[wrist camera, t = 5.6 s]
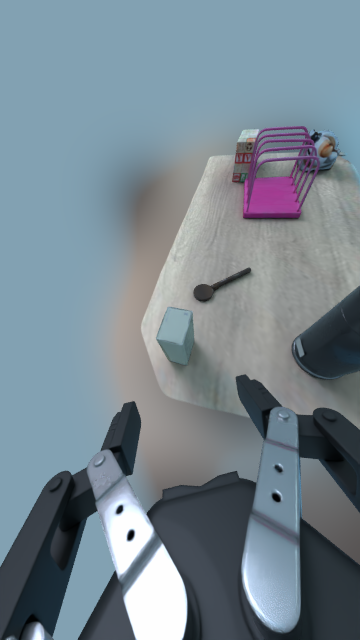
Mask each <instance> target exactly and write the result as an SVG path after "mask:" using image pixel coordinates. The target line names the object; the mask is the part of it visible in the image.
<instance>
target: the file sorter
mask: <svg viewBox="0 0 360 640" xmlns="http://www.w3.org/2000/svg"><path fill="white" fill-rule="evenodd" d="M284 129H304V130H305V132H302V133H280V134H267V135H264V136H262V137H261V138H260V139H259V140H258V142H257V139H258V137H259V135H260V134H261V133H262V132H264V131H269V130H284ZM294 135H305V139H273V140H272V139H271V140H266V141H264V142H263V143H262V144H261V145H260V146H259V148H258V150H257V153H256V149H257V145H258V143H259V142H260V140H261V139H263V138H265V137H275V136H294ZM307 137H308V139H307ZM268 142H303V144H302V146H291V147H280V148H269V149H264V150H263V151H261V152H260V153H259V150H260V148H261V146H263V145H264V144H265V143H268ZM305 142H308V144H307V145H305V146H304V144H305ZM256 143H257V144H256ZM310 143H311V144H312V145H309V144H310ZM308 148H311V149H312V151H311V153H310V156H305V155H306V152H307V150H308ZM290 149H291V150H292V149H301V150H300V152H299V155H298V157H284V158H271V159H265V160H263V161H262V162H260V163H259V164H258V166H257V167H256V163H257V160H258V158H259V156H260V155H261V154H262V153H264V152H268V151H279V150H290ZM302 149H306V150H305V152H304V154H303V156H300V154H301V152H302ZM314 151H315V155H314V156H312V154H313V152H314ZM258 153H259V154H258ZM255 154H256V157H255ZM254 158H255V161H254ZM300 159H302V160H301V162H300V164H299V167H298V169H297V172H296V174H295V177H294V179H293V177H292V175H293V172H294V169H295V167H296V164H297V162H298V160H300ZM303 159H308V160H307V163H306V165H305V167H304V169H303V172H302V174H301V176H300V178H299V180H298V183H297V185H296V187H295V184H294V181H295V179H296V176H297V174H298V172H299V169H300V167H301V164H302V162H303ZM310 159H313V161H312V163H311V165H310V168H309V170H308V172H307V175H306V177H305V179H304V181H303V184H302V186H301V189H300V191H299V193H298V195H297V192H296V189H297V187H298V185H299V183H300V181H301V179H302V176H303V174H304V172H305V170H306V168H307V165H308V163H309V161H310ZM285 160H296V162H295V165H294V168H293V170H292V173H291V175H290V177H268V178H255V177H256V173H257V170H258V168H259V167H260V165H262V164H263V163H265V162H272V161H285ZM315 160H316V161H317V164H318V165H317V168H316V171H315V173H314V175H313V177H312V180H311V182H310V184H309V186H308V188H307V190H306V193H305V195H304V197H303V199H302V201H301V203H300V204H299V200H298V198H299V196H300V193H301V191H302V189H303V187H304V184H305V182H306V180H307V178H308V176H309V173H310V171H311V169H312V166H313V164H314V162H315ZM253 163H254V165H253ZM255 167H256V169H255ZM319 167H320V160H319V158H318V157H317V149H316V147H315V144H314V141H313V140H311V138H310V135H309V134H308V131H307V129H306V127H304V126H294V127H275V128H265V129H263V130H261V131H260V132H259V134H258V135H257V137H256V140H255V145H254V149H253V154H252V159H251V163H250V168H249V173H248V178H247V179H245V186H244V209H243V218H299V217H300V215H301V206H302V204H303V202H304V200H305V198H306V196H307V193H308V191H309V189H310V187H311V185H312V183H313V181H314V179H315V177H316V174H317V172H318V170H319ZM252 168H253V169H252ZM251 172H252V174H251ZM254 172H255V173H254ZM250 177H251V178H250Z"/></svg>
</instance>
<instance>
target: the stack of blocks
mask: <svg viewBox="0 0 360 640" xmlns="http://www.w3.org/2000/svg"><path fill="white" fill-rule="evenodd" d="M258 134H259V129H254V130H243V131H242V134H241V136H240V138H239V140H238V143H237V150H236V157H235V165H234V172H233V179H232V182H245V179H247V178H248V173H249V168H250V163H251V159H252V154H253V149H254V145H255V140H256V137H257V135H258ZM257 142H258V139H257ZM256 144H257V143H256Z"/></svg>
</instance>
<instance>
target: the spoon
mask: <svg viewBox="0 0 360 640" xmlns="http://www.w3.org/2000/svg"><path fill="white" fill-rule="evenodd" d="M250 271H251V268H247V269H245V270H242V271H240V272H238V273H236V274H234V275H232V276H230V277H228V278H226V279H224V280H222V281H220V282H218V283H215V284H213V285H211V286H209V285H207V284H201V285H198V286H196V287H195V289H194V297H195V298H196V299H197V300H199V301H207V300H209V299H211V298H212V296H213V291H214V290H216V289H218V288H219V287H220V286H222V285H224V284H226V283H228V282H230V281H232V280H234V279H236V278H238V277H240V276H242V275H245V274H247V273H249V272H250Z"/></svg>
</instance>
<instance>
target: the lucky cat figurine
mask: <svg viewBox="0 0 360 640" xmlns="http://www.w3.org/2000/svg"><path fill="white" fill-rule="evenodd" d="M309 135H310V138H311V140H313V141H314V144H315V147H316V149H317V157H318V158H319V160H320V167H319V169H331V167H332V166H333V164H334V163H335V161H336V158H337V156H338V155H339V153H340V152H341V151H340V150H339V149H337V146H338V139H337V137H335V135H334V133H333V132H331V131H329V130H323V131H319V132H318V133H317V132H315V130H312V131H310V132H309ZM307 139H308V137H307ZM307 144H308V142H306V144H305V145H307ZM309 145H312V144H311V143H310V144H309ZM305 150H306V149H302V152H301V154H300V156H303V154H304V152H305ZM311 151H312V149H311V148H308V150H307V152H306V155H305V156H310V153H311ZM314 155H315V151H314V152H313V154H312V156H314ZM301 160H302V159H300V160H298V162H297V168H298V167H299V164H300V162H301ZM307 160H308V159H303V162H302V164H301V167H300V170H302V171H303V169H304V167H305V165H306V163H307ZM312 161H313V159H310V161H309V163H308V165H307V168H306V170H305V172H306V171H308V170H309V168H310V165H311V163H312ZM317 165H318V164H317V161H316V160H315V162H314V164H313V166H312V169H311V170H316V168H317Z"/></svg>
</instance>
